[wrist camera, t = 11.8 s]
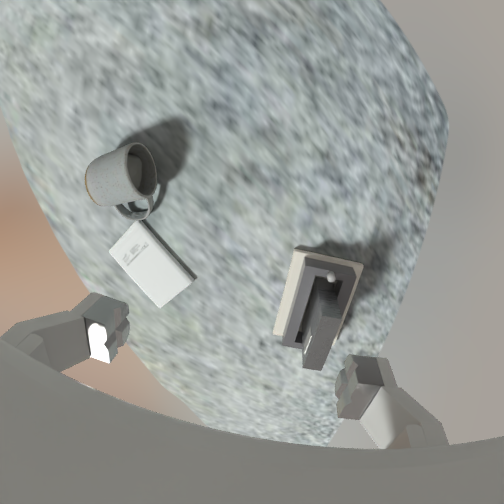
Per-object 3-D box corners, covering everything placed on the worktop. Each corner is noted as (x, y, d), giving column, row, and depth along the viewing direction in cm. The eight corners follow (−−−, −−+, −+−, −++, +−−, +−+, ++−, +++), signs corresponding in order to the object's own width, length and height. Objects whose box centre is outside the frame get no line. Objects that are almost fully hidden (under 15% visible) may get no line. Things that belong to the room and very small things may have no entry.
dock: (294, 248, 42) (294, 263, 37) (362, 263, 41) (370, 279, 36) (273, 330, 47) (270, 351, 42) (333, 341, 46) (336, 362, 41)
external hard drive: (162, 304, 48) (112, 248, 46) (195, 277, 46) (141, 216, 43) (159, 309, 47) (107, 252, 44) (192, 282, 44) (136, 219, 42)
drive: (315, 276, 42) (321, 315, 32) (332, 280, 41) (342, 319, 32) (301, 323, 45) (302, 367, 35) (316, 326, 44) (321, 370, 35)
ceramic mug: (104, 157, 40) (73, 164, 33) (149, 140, 39) (122, 143, 31) (123, 223, 44) (96, 239, 37) (169, 211, 42) (146, 227, 35)
